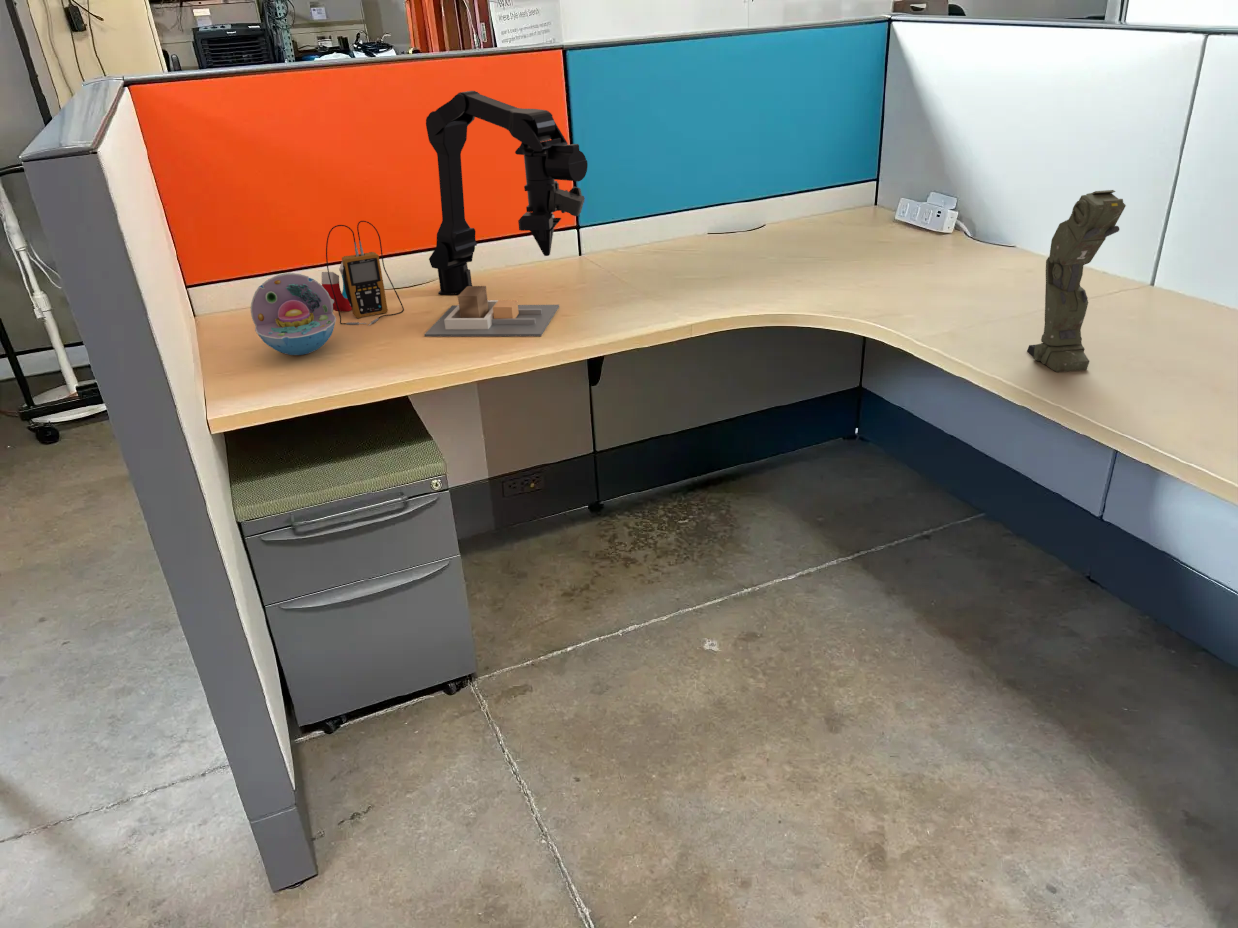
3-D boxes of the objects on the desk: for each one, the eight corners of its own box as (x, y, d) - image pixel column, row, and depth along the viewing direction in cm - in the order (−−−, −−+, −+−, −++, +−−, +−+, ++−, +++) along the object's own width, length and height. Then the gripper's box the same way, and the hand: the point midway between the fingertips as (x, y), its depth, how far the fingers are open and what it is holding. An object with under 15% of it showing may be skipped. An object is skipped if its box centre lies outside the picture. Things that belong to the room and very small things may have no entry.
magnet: (352, 302, 204) (344, 259, 199) (364, 302, 203) (355, 259, 199) (328, 318, 194) (318, 273, 189) (339, 319, 193) (330, 273, 188)
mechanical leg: (1011, 339, 160) (1061, 178, 140) (1050, 336, 160) (1106, 175, 140) (1046, 384, 149) (1105, 217, 130) (1087, 381, 150) (1153, 214, 130)
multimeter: (345, 331, 185) (326, 235, 176) (335, 319, 193) (317, 226, 184) (414, 318, 191) (399, 224, 181) (402, 307, 199) (387, 216, 189)
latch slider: (494, 321, 184) (492, 307, 182) (500, 313, 188) (498, 300, 187) (513, 321, 183) (511, 307, 182) (518, 313, 188) (517, 299, 186)
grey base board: (424, 336, 180) (422, 324, 178) (452, 307, 196) (450, 296, 195) (541, 336, 176) (539, 324, 175) (559, 306, 193) (558, 295, 192)
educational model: (265, 374, 165) (245, 295, 158) (258, 344, 180) (240, 271, 173) (351, 359, 170) (335, 282, 163) (337, 331, 186) (322, 259, 179)
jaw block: (461, 324, 184) (457, 296, 181) (470, 313, 190) (467, 286, 187) (480, 324, 183) (476, 296, 181) (489, 313, 189) (485, 286, 187)
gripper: (570, 186, 169) (576, 267, 177) (587, 169, 186) (592, 244, 193) (514, 187, 171) (522, 267, 178) (535, 170, 187) (542, 245, 195)
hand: (547, 255), depth 186 cm, fingers closed
